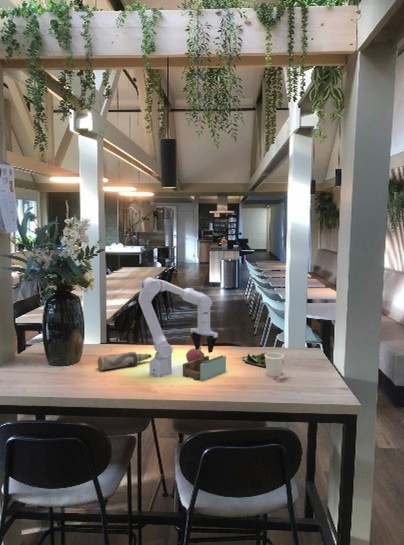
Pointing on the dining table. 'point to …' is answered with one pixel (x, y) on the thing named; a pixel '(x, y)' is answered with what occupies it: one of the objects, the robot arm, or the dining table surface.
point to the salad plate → (256, 360)
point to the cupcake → (194, 354)
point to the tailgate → (213, 367)
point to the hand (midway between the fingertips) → (203, 350)
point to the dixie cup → (274, 364)
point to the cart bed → (194, 368)
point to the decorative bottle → (121, 360)
